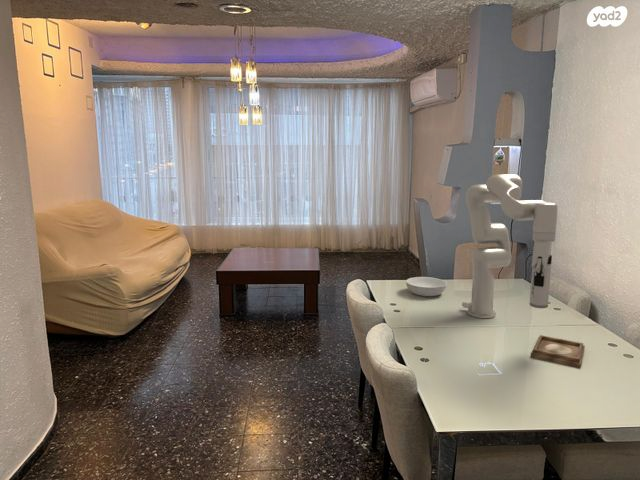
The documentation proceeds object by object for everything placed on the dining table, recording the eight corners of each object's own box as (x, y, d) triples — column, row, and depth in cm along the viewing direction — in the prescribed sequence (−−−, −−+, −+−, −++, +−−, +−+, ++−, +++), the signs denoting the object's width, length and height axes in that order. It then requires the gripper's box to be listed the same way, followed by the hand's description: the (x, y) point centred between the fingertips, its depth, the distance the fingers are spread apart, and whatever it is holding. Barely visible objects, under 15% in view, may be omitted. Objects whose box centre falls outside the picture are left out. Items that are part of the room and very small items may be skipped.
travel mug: (546, 303, 175) (551, 252, 171) (548, 309, 169) (553, 256, 165) (528, 302, 177) (532, 251, 173) (530, 307, 171) (534, 255, 167)
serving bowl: (450, 300, 234) (451, 287, 233) (409, 300, 235) (409, 287, 233) (440, 288, 255) (441, 276, 253) (402, 288, 255) (403, 276, 254)
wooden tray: (530, 357, 169) (531, 350, 168) (538, 340, 183) (538, 333, 183) (580, 367, 160) (581, 360, 160) (584, 349, 175) (585, 342, 174)
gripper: (537, 232, 177) (533, 277, 180) (527, 239, 163) (524, 288, 166) (558, 233, 173) (555, 280, 176) (551, 241, 159) (547, 291, 162)
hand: (540, 283), depth 171 cm, fingers closed on travel mug, 6 cm apart
